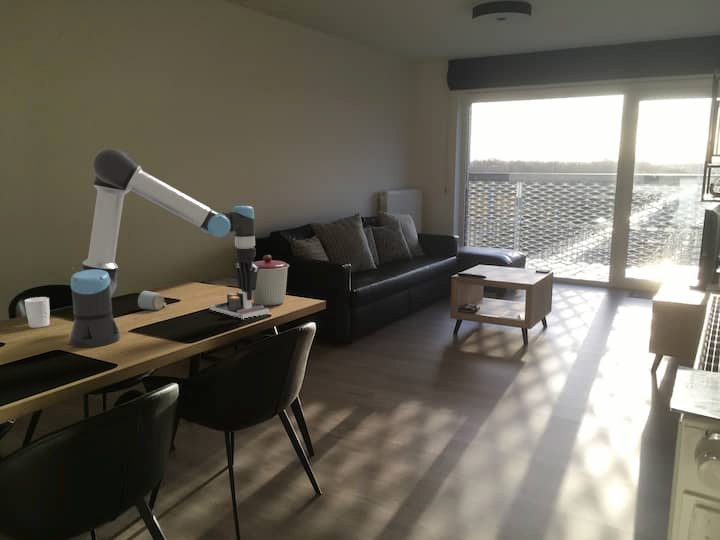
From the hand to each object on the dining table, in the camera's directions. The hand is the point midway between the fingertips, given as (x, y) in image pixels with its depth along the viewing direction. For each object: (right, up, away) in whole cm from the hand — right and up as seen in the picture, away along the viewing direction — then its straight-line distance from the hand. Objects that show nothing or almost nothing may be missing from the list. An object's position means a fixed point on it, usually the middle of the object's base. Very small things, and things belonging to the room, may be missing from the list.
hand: (247, 307), depth 218 cm
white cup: (-76, -6, -7) cm, 77 cm away
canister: (+4, 0, +27) cm, 27 cm away
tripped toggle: (-6, -1, +6) cm, 8 cm away
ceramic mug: (-43, -2, +18) cm, 47 cm away
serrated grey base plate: (-6, -2, +12) cm, 13 cm away
